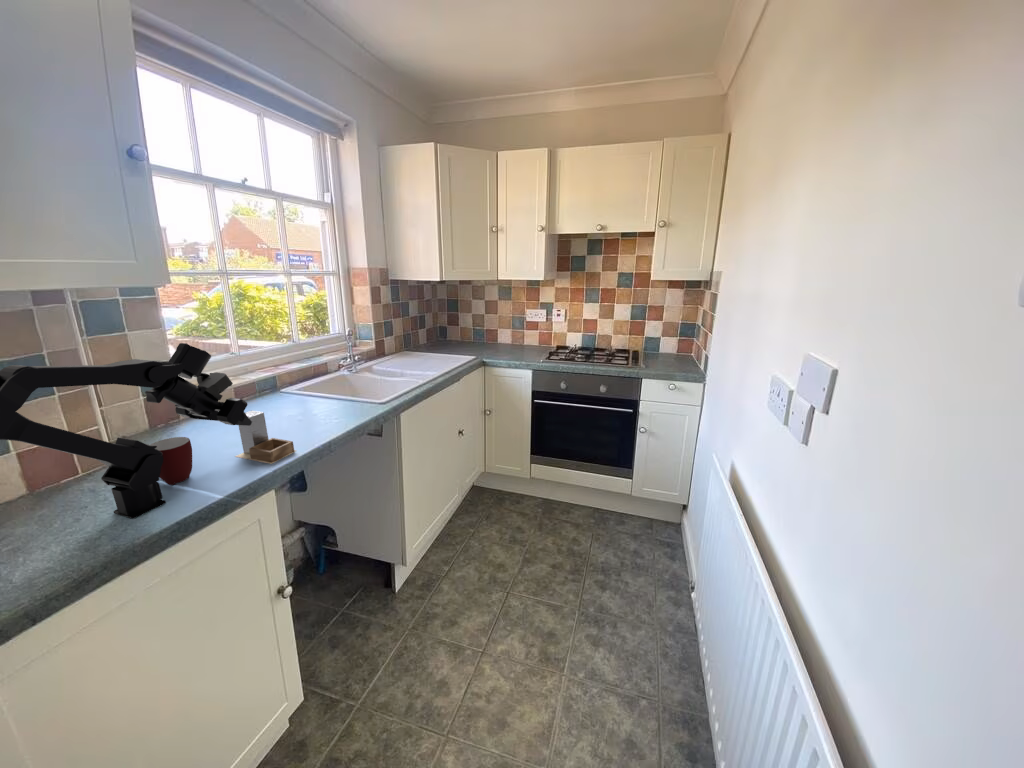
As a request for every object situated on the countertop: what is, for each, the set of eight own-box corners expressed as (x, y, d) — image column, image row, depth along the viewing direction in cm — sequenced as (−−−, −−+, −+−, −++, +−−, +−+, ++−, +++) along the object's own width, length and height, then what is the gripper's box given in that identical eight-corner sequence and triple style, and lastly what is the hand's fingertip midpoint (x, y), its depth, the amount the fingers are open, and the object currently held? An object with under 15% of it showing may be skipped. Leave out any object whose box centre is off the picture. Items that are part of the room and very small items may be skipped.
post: (256, 455, 112) (249, 417, 109) (243, 452, 114) (236, 415, 111) (270, 448, 116) (263, 412, 113) (258, 446, 118) (251, 410, 115)
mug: (146, 481, 100) (136, 443, 97) (185, 467, 107) (176, 432, 104) (165, 493, 95) (154, 454, 92) (204, 478, 101) (196, 441, 98)
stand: (271, 465, 108) (269, 453, 107) (235, 458, 112) (232, 446, 111) (297, 452, 115) (295, 440, 114) (262, 446, 119) (260, 434, 118)
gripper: (232, 368, 96) (279, 398, 109) (177, 362, 102) (228, 391, 115) (206, 410, 91) (258, 437, 105) (150, 401, 97) (206, 427, 110)
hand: (237, 421), depth 109 cm, fingers open, 9 cm apart
